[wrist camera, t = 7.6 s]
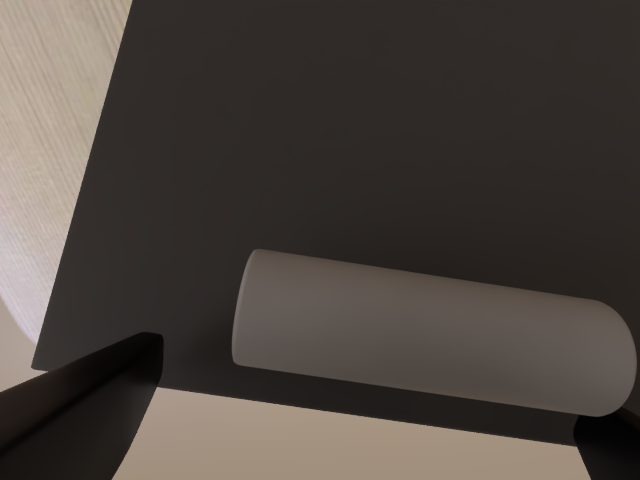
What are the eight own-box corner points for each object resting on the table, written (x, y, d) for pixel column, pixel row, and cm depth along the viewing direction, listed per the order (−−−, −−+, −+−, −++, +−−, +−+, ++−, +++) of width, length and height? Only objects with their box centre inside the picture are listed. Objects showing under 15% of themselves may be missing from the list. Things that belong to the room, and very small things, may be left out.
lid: (650, 450, 10) (1041, 600, 5) (51, 364, 9) (-247, 423, 4) (642, -12, 12) (886, -244, 7) (174, -94, 12) (82, -400, 7)
